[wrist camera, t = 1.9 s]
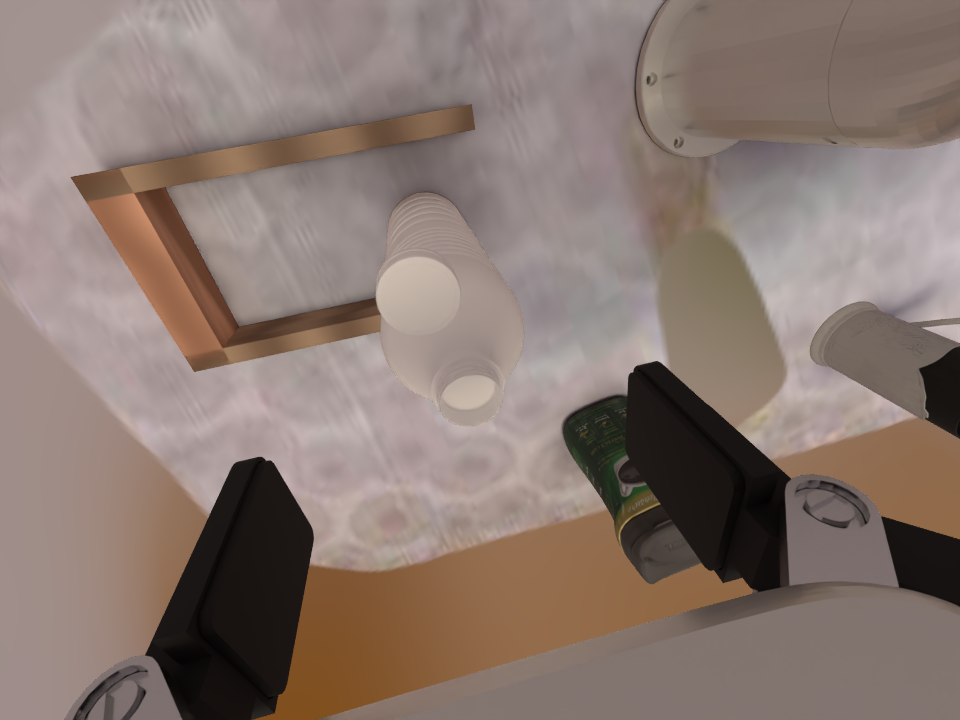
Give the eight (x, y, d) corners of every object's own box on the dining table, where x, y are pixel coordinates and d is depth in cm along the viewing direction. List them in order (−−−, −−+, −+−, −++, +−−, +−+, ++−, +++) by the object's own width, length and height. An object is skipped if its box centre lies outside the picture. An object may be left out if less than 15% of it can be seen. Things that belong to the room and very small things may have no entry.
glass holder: (805, 329, 48) (951, 404, 36) (924, 260, 46) (1123, 313, 34) (814, 377, 53) (946, 459, 40) (922, 315, 51) (1098, 381, 38)
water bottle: (474, 251, 37) (581, 432, 16) (408, 279, 37) (425, 496, 16) (435, 149, 32) (510, 211, 11) (360, 183, 32) (291, 306, 11)
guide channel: (463, 105, 31) (471, 104, 27) (490, 289, 39) (499, 305, 35) (108, 170, 29) (70, 177, 26) (212, 348, 37) (194, 371, 34)
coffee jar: (570, 459, 53) (644, 604, 37) (555, 416, 49) (631, 560, 33) (640, 430, 52) (745, 565, 37) (631, 385, 48) (745, 515, 32)
